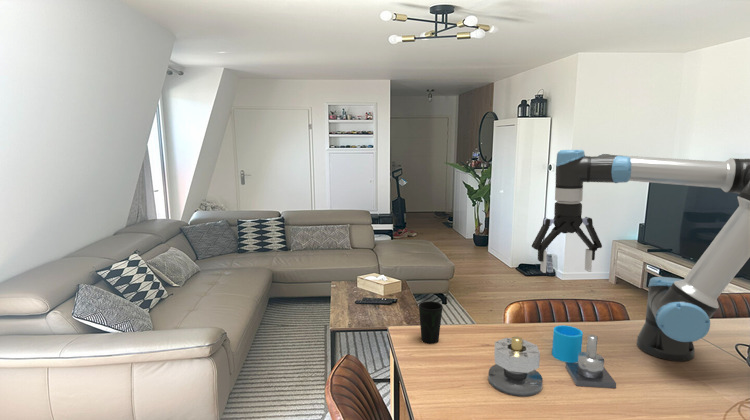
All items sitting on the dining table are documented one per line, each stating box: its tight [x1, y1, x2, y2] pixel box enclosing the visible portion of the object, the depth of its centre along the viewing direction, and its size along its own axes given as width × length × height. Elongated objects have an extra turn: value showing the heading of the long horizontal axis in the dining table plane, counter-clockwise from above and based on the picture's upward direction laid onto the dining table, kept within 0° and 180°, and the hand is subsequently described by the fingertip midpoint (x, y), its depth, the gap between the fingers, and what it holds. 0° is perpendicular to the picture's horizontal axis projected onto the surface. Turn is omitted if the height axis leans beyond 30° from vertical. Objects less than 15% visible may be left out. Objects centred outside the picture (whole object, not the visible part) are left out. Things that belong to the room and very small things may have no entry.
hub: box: [487, 336, 544, 398], centre depth 121 cm, size 14×14×12 cm
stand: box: [565, 334, 617, 389], centre depth 124 cm, size 10×10×12 cm
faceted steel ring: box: [493, 337, 541, 373], centre depth 121 cm, size 11×11×4 cm
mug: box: [551, 324, 584, 363], centre depth 138 cm, size 12×8×8 cm
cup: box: [418, 300, 443, 345], centre depth 147 cm, size 8×8×12 cm
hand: (565, 271), depth 136 cm, fingers open, 13 cm apart
